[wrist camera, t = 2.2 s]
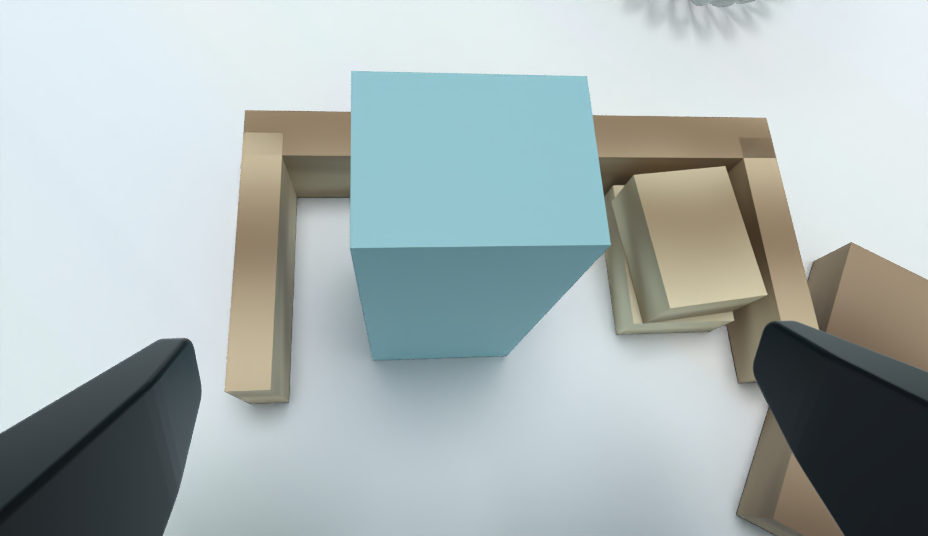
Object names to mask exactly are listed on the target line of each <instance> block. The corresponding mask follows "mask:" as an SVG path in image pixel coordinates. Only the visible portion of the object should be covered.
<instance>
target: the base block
mask: <svg viewBox="0 0 928 536" xmlns="http://www.w3.org/2000/svg"><path fill="white" fill-rule="evenodd" d="M807 283H808V287H809V291H810V295H811V299H812V303H813V307H814V311H815V315H816V319H817V323H818V327H819V330H820V331H823V332H826V333H828V334H831V335H833V336H836V337H839V338H841V339H844V340H846V341H849V342H852V343H854V344H857V345H859V346H862V347H865V348H867V349H870V350H872V351H875V352H877V353H880V354H883V355H885V356H888V357H890V358H893V359H896V360H898V361H901V362H903V363H906V364H909V365H911V366H914V367H916V368H919V369H922V370H924V371H927V372H928V280H927V279H925V278H923V277H921V276H919V275H917V274H915V273H913V272H911V271H909V270H907V269H905V268H903V267H901V266H899V265H896V264H894V263H892V262H890V261H888V260H886V259H884V258H882V257H880V256H878V255H876V254H874V253H872V252H870V251H868V250H866V249H864V248H862V247H860V246H858V245H856V244H854V243H852V242H851V243H849V244H847V245H845V246H843V247H841V248H839V249H837V250H835V251H833V252H831V253H829V254H827V255H825V256H823V257H821V258H819V259H817V260H816V261H814V262H813V266H812V269H811V272H810V275H809V279H808V282H807ZM736 515H738V516H740V517H742V518H744V519H746V520H748V521H750V522H751V523H753V524H755V525H757V526H759V527H761V528H763V529H765V530H767V531H769V532H770V533H772V534H774V535H776V536H844V535H843V533H842V532H841V530H840V528H839V527H838V525H837V524H836V522H835V521H834V519H833V517H832V516H831V514H830V513H829V511H828V510H827V508H826V506H825V505H824V503H823V502H822V500H821V498H820V497H819V495H818V494H817V492H816V491H815V489H814V487H813V486H812V484H811V483H810V481H809V479H808V478H807V476H806V475H805V473H804V472H803V470H802V468H801V467H800V465H799V463H798V462H797V460H796V458H795V457H794V455H793V453H792V451H791V449H790V447H789V445H788V443H787V441H786V439H785V438H784V436H783V434H782V432H781V430H780V428H779V426H778V424H777V422H776V420H775V418H774V416H773V414H772V412H771V410H770V408H769V410H768V413H767V416H766V419H765V423H764V426H763V429H762V432H761V436H760V439H759V442H758V445H757V449H756V452H755V455H754V459H753V462H752V465H751V468H750V472H749V475H748V478H747V481H746V485H745V488H744V491H743V495H742V498H741V501H740V504H739V508H738V511H737V514H736Z"/></svg>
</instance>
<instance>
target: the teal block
mask: <svg viewBox="0 0 928 536" xmlns="http://www.w3.org/2000/svg"><path fill="white" fill-rule="evenodd" d="M610 245H611V242H610V235H609V228H608V221H607V214H606V207H605V200H604V193H603V186H602V179H601V172H600V165H599V158H598V151H597V144H596V137H595V130H594V123H593V116H592V109H591V102H590V95H589V88H588V81H587V76H547V75H502V74H458V73H414V72H369V71H351V188H350V250H351V255H352V260H353V265H354V270H355V275H356V280H357V285H358V290H359V295H360V300H361V305H362V309H363V314H364V319H365V324H366V329H367V334H368V339H369V344H370V349H371V354H372V359H373V360H400V359H429V358H458V357H487V356H507V355H508V354H509V352H510V351H511V350H512V349H513V348H514V347H515V346H516V345H517V344H518V343H519V342H520V341H521V340H522V339H523V338H524V337H525V335H526V334H527V333H528V332H529V331H530V330H531V329H532V328H533V327H534V326H535V325H536V324H537V323H538V322H539V321H540V320H541V318H542V317H543V316H544V315H545V314H546V313H547V312H548V311H549V310H550V309H551V308H552V307H553V306H554V305H555V304H556V303H557V302H558V300H559V299H560V298H561V297H562V296H563V295H564V294H565V293H566V292H567V291H568V290H569V289H570V288H571V287H572V286H573V285H574V283H575V282H576V281H577V280H578V279H579V278H580V277H581V276H582V275H583V274H584V273H585V272H586V271H587V270H588V269H589V268H590V266H591V265H592V264H593V263H594V262H595V261H596V260H597V259H598V258H599V257H600V256H601V255H602V254H603V253H604V252H605V251H606V249H607V248H608V247H609V246H610Z"/></svg>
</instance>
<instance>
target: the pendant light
mask: <svg viewBox="0 0 928 536" xmlns="http://www.w3.org/2000/svg"><path fill="white" fill-rule="evenodd" d="M691 1H692V2H693V4H695V5H696V6H703V5H706V4H708V3H710V4H712V5H714V6H717V7H726V6H731V5H733V4H735V3H747V2H752V1H755V0H691Z"/></svg>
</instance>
